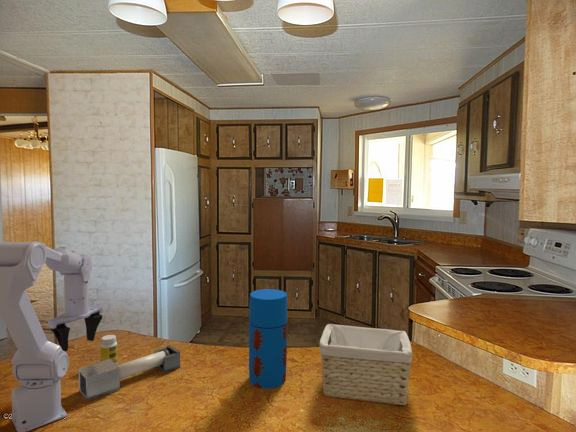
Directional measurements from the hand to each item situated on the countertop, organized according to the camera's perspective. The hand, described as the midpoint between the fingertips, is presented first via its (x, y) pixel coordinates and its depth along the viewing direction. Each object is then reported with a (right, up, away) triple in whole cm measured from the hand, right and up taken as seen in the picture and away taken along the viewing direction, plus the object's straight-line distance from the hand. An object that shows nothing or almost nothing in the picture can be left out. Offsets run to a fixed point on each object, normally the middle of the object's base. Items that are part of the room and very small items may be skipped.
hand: (77, 345), depth 103 cm
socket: (+22, -10, +10) cm, 26 cm away
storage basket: (+80, -12, 0) cm, 81 cm away
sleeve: (+8, -11, -4) cm, 14 cm away
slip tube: (+16, -9, +4) cm, 19 cm away
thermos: (+53, -11, +3) cm, 54 cm away
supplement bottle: (+3, -10, +11) cm, 15 cm away
